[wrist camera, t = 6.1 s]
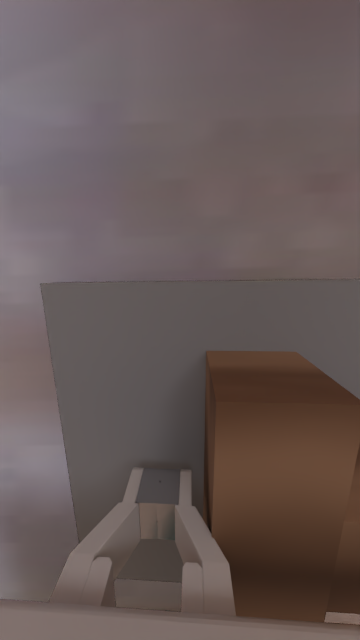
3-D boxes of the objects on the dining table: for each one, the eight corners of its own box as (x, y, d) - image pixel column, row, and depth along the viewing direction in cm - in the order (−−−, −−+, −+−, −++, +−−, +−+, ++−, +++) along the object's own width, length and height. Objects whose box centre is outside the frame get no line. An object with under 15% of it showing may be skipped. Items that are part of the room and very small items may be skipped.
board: (56, 282, 11) (40, 283, 10) (712, 274, 9) (787, 275, 8) (92, 552, 15) (84, 576, 13) (560, 578, 13) (596, 608, 12)
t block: (206, 350, 10) (216, 401, 6) (462, 353, 9) (659, 411, 5) (202, 547, 12) (207, 673, 9) (403, 559, 12) (507, 700, 8)
